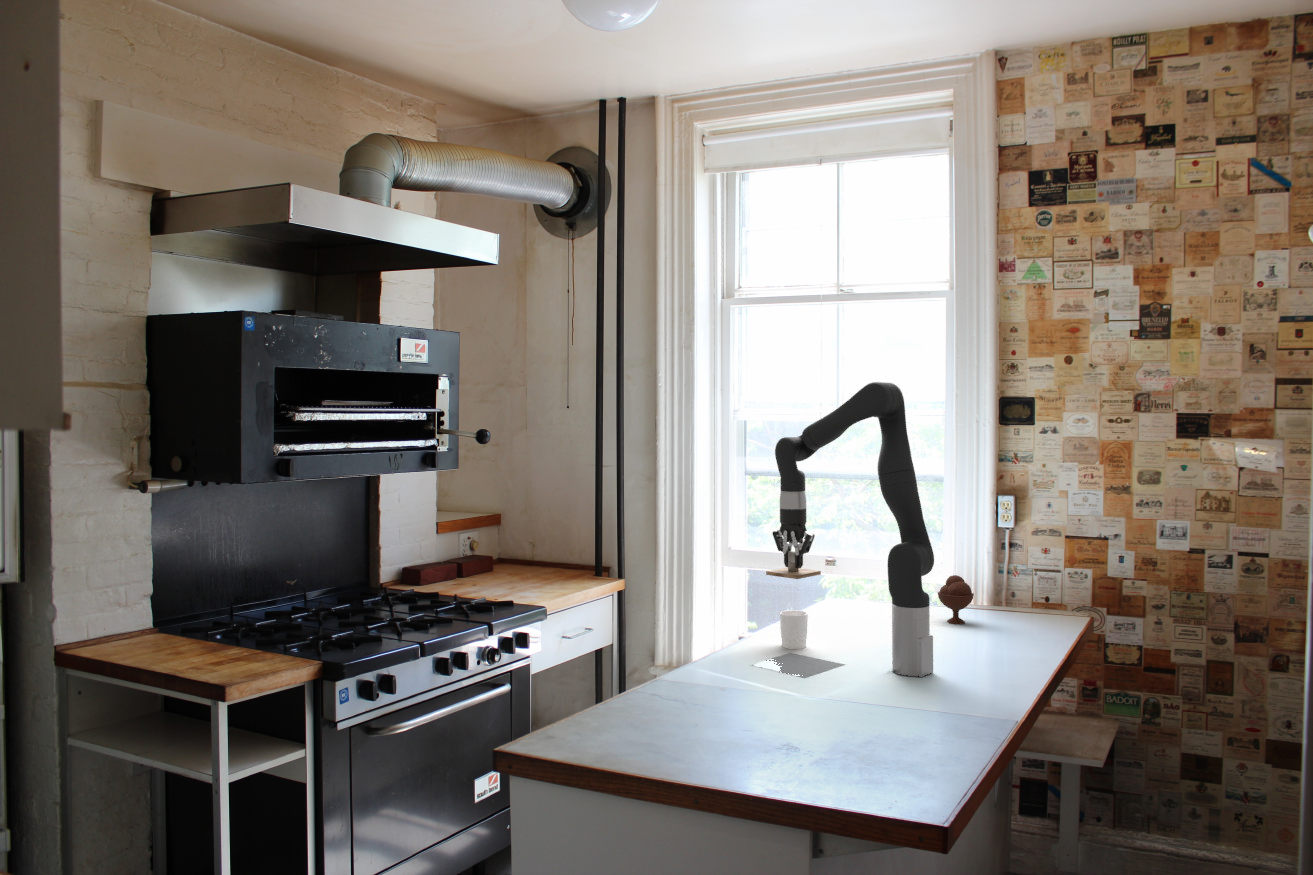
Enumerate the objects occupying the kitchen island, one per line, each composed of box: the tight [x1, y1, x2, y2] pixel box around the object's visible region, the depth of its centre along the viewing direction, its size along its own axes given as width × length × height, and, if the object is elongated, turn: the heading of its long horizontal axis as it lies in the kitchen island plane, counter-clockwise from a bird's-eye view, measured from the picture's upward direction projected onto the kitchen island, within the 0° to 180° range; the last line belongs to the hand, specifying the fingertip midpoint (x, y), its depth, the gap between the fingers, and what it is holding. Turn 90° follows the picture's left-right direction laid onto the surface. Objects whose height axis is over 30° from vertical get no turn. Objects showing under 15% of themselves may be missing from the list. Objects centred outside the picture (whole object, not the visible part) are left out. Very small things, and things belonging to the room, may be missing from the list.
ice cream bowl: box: [937, 574, 975, 625], centre depth 284 cm, size 11×11×15 cm
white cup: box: [779, 609, 809, 650], centre depth 252 cm, size 8×8×10 cm
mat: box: [765, 652, 846, 679], centre depth 232 cm, size 18×18×1 cm
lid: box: [765, 550, 822, 580], centre depth 252 cm, size 11×11×6 cm
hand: (793, 567), depth 252 cm, fingers closed on lid, 3 cm apart
